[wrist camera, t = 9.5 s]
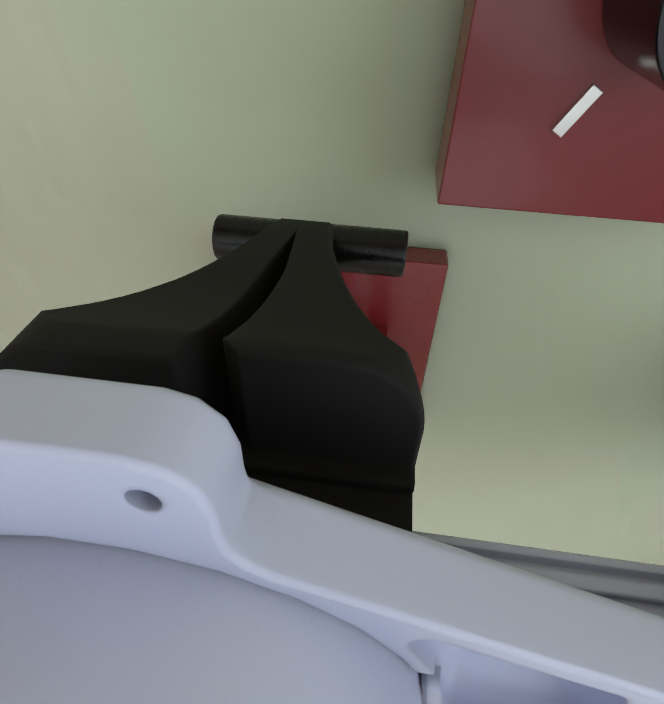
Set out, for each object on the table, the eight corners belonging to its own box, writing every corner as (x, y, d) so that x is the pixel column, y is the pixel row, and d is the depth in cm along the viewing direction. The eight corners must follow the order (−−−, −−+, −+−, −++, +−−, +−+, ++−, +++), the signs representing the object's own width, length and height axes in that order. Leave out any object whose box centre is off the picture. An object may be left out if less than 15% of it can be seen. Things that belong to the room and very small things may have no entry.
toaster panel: (975, -229, 10) (1110, -267, 8) (723, 197, 17) (765, 234, 15) (505, -234, 11) (525, -271, 9) (435, 174, 18) (437, 206, 16)
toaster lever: (227, 191, 13) (200, 248, 12) (410, 207, 13) (406, 268, 11) (267, 404, 22) (255, 452, 20) (377, 417, 21) (372, 467, 20)
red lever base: (231, 229, 20) (169, 329, 15) (447, 249, 20) (457, 361, 14) (252, 405, 28) (215, 513, 22) (410, 425, 27) (408, 540, 22)
